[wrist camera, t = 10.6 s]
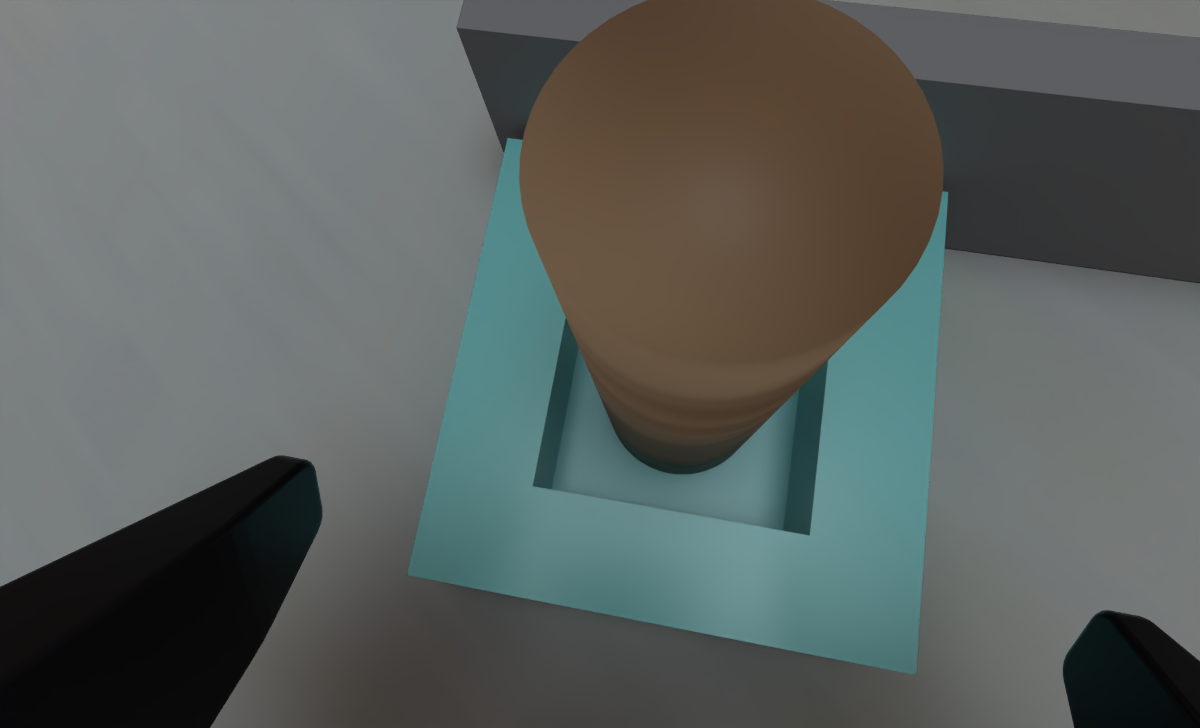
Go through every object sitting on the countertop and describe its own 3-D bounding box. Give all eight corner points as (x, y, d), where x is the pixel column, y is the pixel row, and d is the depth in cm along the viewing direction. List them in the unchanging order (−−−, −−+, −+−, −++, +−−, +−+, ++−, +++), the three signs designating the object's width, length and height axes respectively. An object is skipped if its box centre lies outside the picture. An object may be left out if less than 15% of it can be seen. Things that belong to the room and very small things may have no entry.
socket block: (857, 643, 18) (915, 675, 14) (456, 565, 19) (406, 575, 15) (890, 256, 20) (948, 191, 16) (532, 208, 21) (507, 138, 17)
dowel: (676, 505, 18) (716, 455, 6) (579, 395, 19) (438, 153, 7) (785, 406, 18) (1037, 166, 6) (685, 303, 19) (732, -83, 7)
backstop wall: (1289, 294, 19) (1658, 161, 12) (517, 189, 21) (456, 28, 14) (1281, 147, 20) (1617, -54, 13) (547, 62, 22) (502, -146, 15)
